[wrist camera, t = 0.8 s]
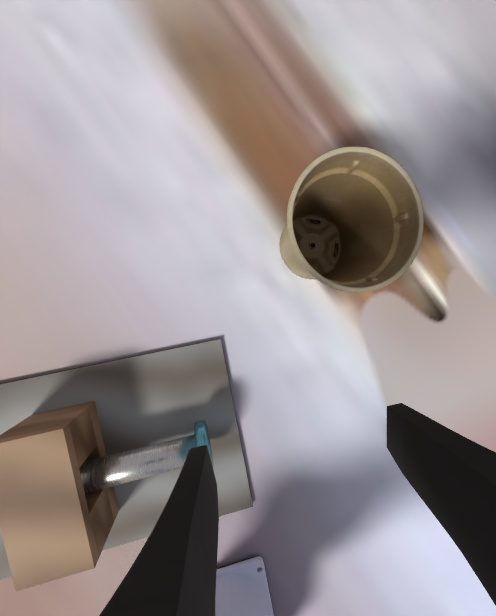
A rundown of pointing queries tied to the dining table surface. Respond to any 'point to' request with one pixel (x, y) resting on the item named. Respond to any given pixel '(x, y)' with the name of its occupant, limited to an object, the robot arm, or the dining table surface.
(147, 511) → the hitch block
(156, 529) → the robot arm
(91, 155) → the dining table surface
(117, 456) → the pin
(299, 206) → the flower pot
